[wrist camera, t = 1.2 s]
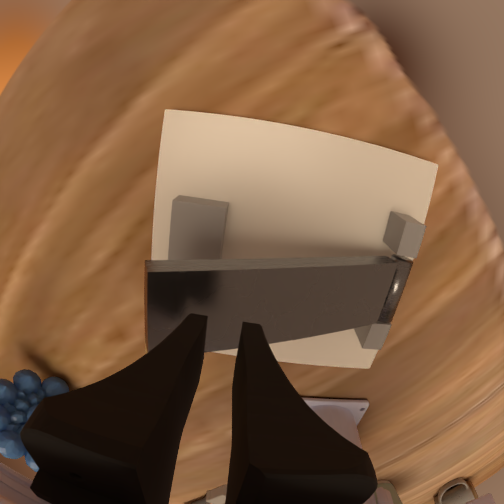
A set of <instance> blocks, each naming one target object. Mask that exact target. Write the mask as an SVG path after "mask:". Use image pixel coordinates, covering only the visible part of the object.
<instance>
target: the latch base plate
mask: <svg viewBox="0 0 504 504" xmlns="http://www.w3.org/2000/svg"><path fill="white" fill-rule="evenodd" d="M437 169H438V164H435V163H432V162H429V161H426V160H423V159H420V158H417V157H414V156H411V155H408V154H405V153H401V152H398V151H395V150H391V149H388V148H384V147H381V146H377V145H374V144H370V143H366V142H363V141H359V140H355V139H351V138H347V137H343V136H339V135H334V134H330V133H326V132H321V131H317V130H312V129H307V128H302V127H297V126H292V125H286V124H281V123H275V122H269V121H263V120H257V119H251V118H244V117H236V116H229V115H221V114H212V113H203V112H193V111H181V110H168V109H165V114H164V121H163V128H162V136H161V144H160V152H159V161H158V171H157V181H156V192H155V204H154V218H153V235H152V257H151V260H202V259H260V258H310V257H355V256H388V257H389V258H391V256H392V254H396V255H400V256H405V257H407V258H409V259H411V260H412V261H413V258H417V255H418V252H419V248H420V245H421V242H422V239H423V235H424V232H425V228H426V226H425V225H424V222H425V218H426V215H427V211H428V207H429V203H430V199H431V195H432V191H433V187H434V183H435V178H436V174H437ZM390 327H391V323H390V322H389V323H384V322H380V321H377V323H376V324H372V325H367V326H363V327H358V328H354V329H349V330H344V331H339V332H334V333H329V334H324V335H319V336H313V337H308V338H302V339H297V340H291V341H285V342H279V343H272V344H269V346H270V348H271V350H272V352H273V354H274V356H275V358H276V360H277V361H280V362H288V363H298V364H308V365H320V366H332V367H347V368H366V369H370V366H371V364H372V362H373V360H374V358H375V356H376V353H377V351H378V350H381V348H382V346H383V344H384V341H385V339H386V337H387V335H388V332H389V330H390ZM237 351H238V348H237V349H230V350H221V351H213V352H215V353H222V354H228V355H234V356H237Z"/></svg>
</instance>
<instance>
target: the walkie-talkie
mask: <svg viewBox="0 0 504 504" xmlns="http://www.w3.org/2000/svg"><path fill="white" fill-rule="evenodd" d="M226 492H227V485H222V486H220V487H218V488H215V489H213V490H209V491H207V494H206V497H204V498H202V499H200V500H197V501H195V502H192V503H191V504H210V503H212V504H225V500H226Z"/></svg>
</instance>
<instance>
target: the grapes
mask: <svg viewBox="0 0 504 504" xmlns="http://www.w3.org/2000/svg"><path fill="white" fill-rule="evenodd" d="M13 382H14V384H13V383H12V382H11V381H8V380H6V379H0V453H1V454H2V455H3V456H4V457H7V458H11V459H18V458H20V457H22V456H23V455H25V460H26V464H27V465H28V466H29V467H30V468H31V469H33V470H34V471H35V472H38V470H39V468H38V466H37V465H36V463H35V462H34V460H33V459H32V457H31V456H30V454H29V453H28V451H27V450H26V448H25V447H24V445H23V443H22V440H21V437H20V432H21V430H22V429H23V427H24V425H25V424H26V422H27V421H28V419H29V417H30V416H31V414H32V413H33V411H34V410H35V408H36V407H37V406H38V404H39V403H40V402H41V401H42V400H43V398H45V397H50V396H54V395H59V394H63V393H66V392H69V387H68V385H67V383H66V382H65V381H64V380H62V379H61V378H58V377H52V376H51V377H49V378H47V379H45V380H44V381H43V382H42V384H41V379H40V377H39V376H38V375H37V374H36V373H34V372H33V371H31V370H25V369H24V370H20V371H18V372H16V373H15V375H14V377H13Z"/></svg>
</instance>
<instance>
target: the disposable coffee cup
mask: <svg viewBox="0 0 504 504" xmlns="http://www.w3.org/2000/svg"><path fill="white" fill-rule="evenodd" d="M377 482H378V486H377V488H379V487H383V488H384V489H386V490H388V491H390V493H391V496H392V500H393V503H394V504H402V502H401V500H400V498H399V496H398V494H397V492H396V490H395V488H394V486H393V485H392V484H391V483H390V482H389V481H387V480H379V481H377ZM374 495H375V499H376V504H378V503H377V499H378V498H377V494H376V491H375V492H374Z"/></svg>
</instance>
